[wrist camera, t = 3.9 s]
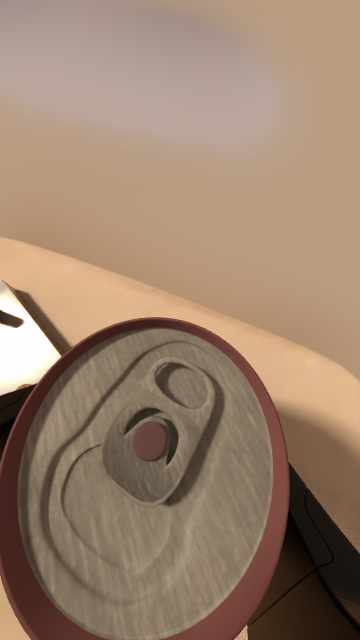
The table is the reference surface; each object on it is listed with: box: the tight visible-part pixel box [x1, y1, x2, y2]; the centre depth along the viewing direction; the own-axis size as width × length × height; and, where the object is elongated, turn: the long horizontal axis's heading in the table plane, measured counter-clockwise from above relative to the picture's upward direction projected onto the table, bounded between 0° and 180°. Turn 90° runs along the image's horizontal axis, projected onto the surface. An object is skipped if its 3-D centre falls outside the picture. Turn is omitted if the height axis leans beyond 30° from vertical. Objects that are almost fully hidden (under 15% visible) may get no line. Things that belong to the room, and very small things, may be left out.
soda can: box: [0, 317, 290, 640], centre depth 9 cm, size 7×7×12 cm
